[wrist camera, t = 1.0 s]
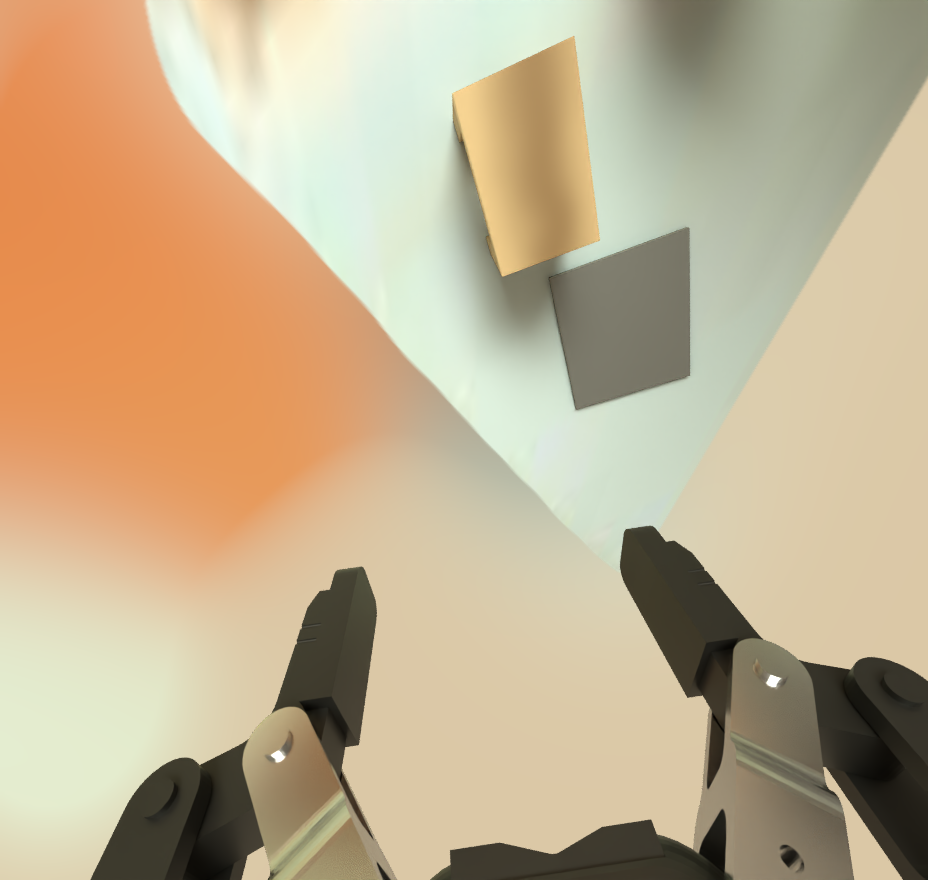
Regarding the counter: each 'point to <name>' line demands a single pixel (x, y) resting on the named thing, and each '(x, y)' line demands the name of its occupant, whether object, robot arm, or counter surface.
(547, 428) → the counter surface
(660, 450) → the counter surface
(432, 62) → the counter surface
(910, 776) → the robot arm
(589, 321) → the rubber mat
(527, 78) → the notched wooden block
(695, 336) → the counter surface
